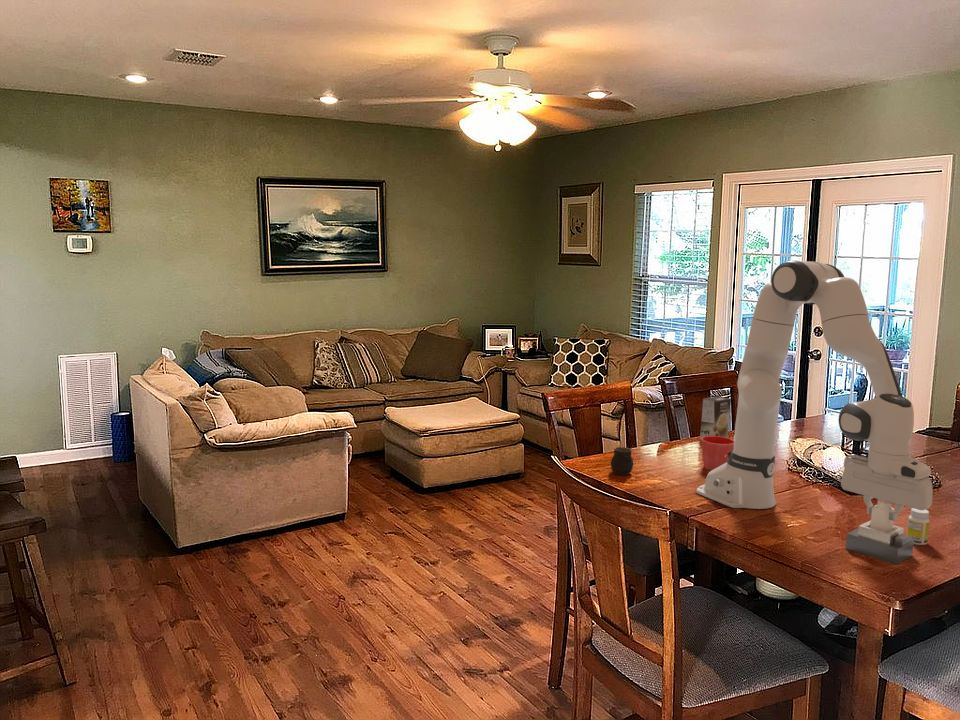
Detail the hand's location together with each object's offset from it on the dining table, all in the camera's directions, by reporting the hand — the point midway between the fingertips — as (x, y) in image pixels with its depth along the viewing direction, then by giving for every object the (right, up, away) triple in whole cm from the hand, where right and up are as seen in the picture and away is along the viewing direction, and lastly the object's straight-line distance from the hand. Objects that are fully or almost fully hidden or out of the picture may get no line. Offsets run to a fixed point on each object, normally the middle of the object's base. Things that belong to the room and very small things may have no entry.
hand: (882, 516), depth 191 cm
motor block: (0, -9, +1) cm, 9 cm away
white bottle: (0, -4, +1) cm, 4 cm away
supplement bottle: (+13, -8, +9) cm, 18 cm away
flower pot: (-20, +2, +69) cm, 72 cm away
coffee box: (-10, +8, +105) cm, 106 cm away
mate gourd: (-52, +2, +61) cm, 80 cm away
